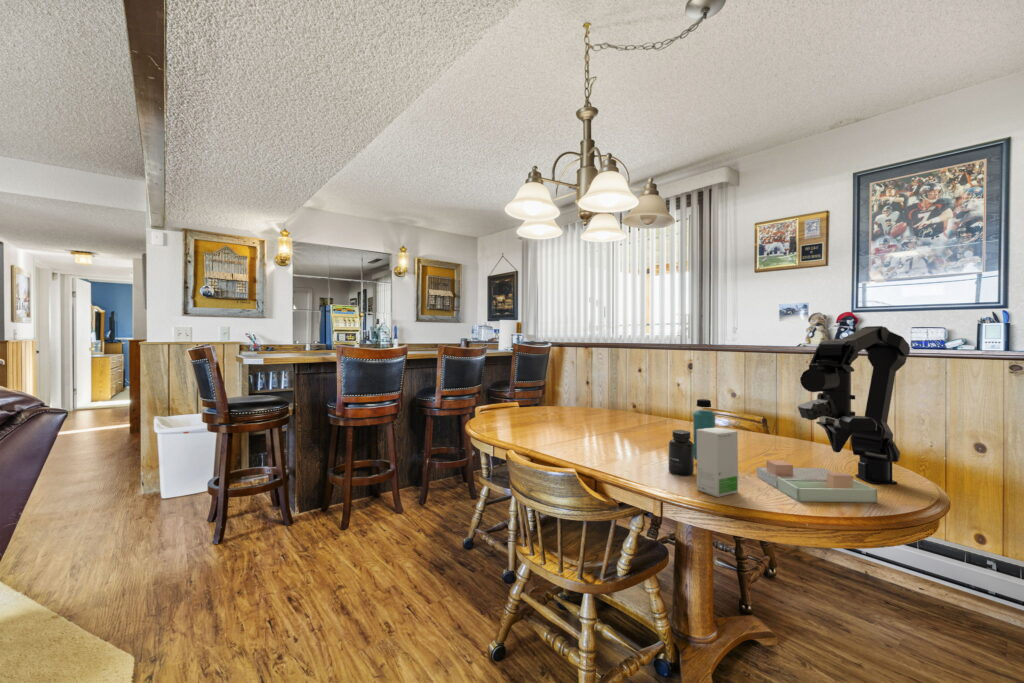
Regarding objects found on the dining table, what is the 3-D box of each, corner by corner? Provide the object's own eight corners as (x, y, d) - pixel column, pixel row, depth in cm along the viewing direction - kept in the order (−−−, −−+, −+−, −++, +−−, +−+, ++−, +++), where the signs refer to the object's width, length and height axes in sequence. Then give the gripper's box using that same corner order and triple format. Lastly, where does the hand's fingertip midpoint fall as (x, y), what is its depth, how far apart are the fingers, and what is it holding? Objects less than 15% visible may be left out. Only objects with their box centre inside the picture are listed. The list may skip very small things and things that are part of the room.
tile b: (783, 469, 119) (783, 460, 119) (793, 474, 114) (793, 465, 114) (766, 469, 119) (766, 460, 119) (775, 474, 115) (775, 464, 115)
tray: (850, 489, 110) (850, 477, 110) (877, 502, 101) (877, 489, 101) (777, 488, 111) (777, 477, 111) (797, 501, 102) (797, 488, 102)
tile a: (846, 472, 108) (853, 476, 105) (846, 490, 108) (853, 494, 105) (826, 472, 108) (833, 475, 106) (827, 490, 108) (833, 493, 106)
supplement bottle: (668, 474, 123) (667, 432, 123) (669, 468, 129) (668, 428, 129) (694, 477, 120) (694, 434, 120) (693, 470, 127) (693, 429, 127)
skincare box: (717, 498, 105) (717, 434, 105) (694, 489, 111) (694, 429, 110) (739, 492, 109) (739, 430, 108) (716, 484, 114) (716, 425, 114)
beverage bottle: (718, 467, 129) (718, 401, 129) (695, 466, 131) (694, 400, 131) (713, 461, 136) (712, 398, 136) (690, 460, 137) (690, 397, 137)
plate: (823, 476, 120) (823, 468, 120) (849, 489, 110) (849, 479, 110) (756, 476, 121) (756, 467, 121) (776, 488, 111) (776, 478, 111)
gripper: (782, 386, 118) (782, 443, 118) (828, 394, 100) (828, 462, 100) (824, 386, 118) (824, 443, 118) (878, 394, 99) (878, 462, 99)
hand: (836, 452), depth 109 cm, fingers closed
